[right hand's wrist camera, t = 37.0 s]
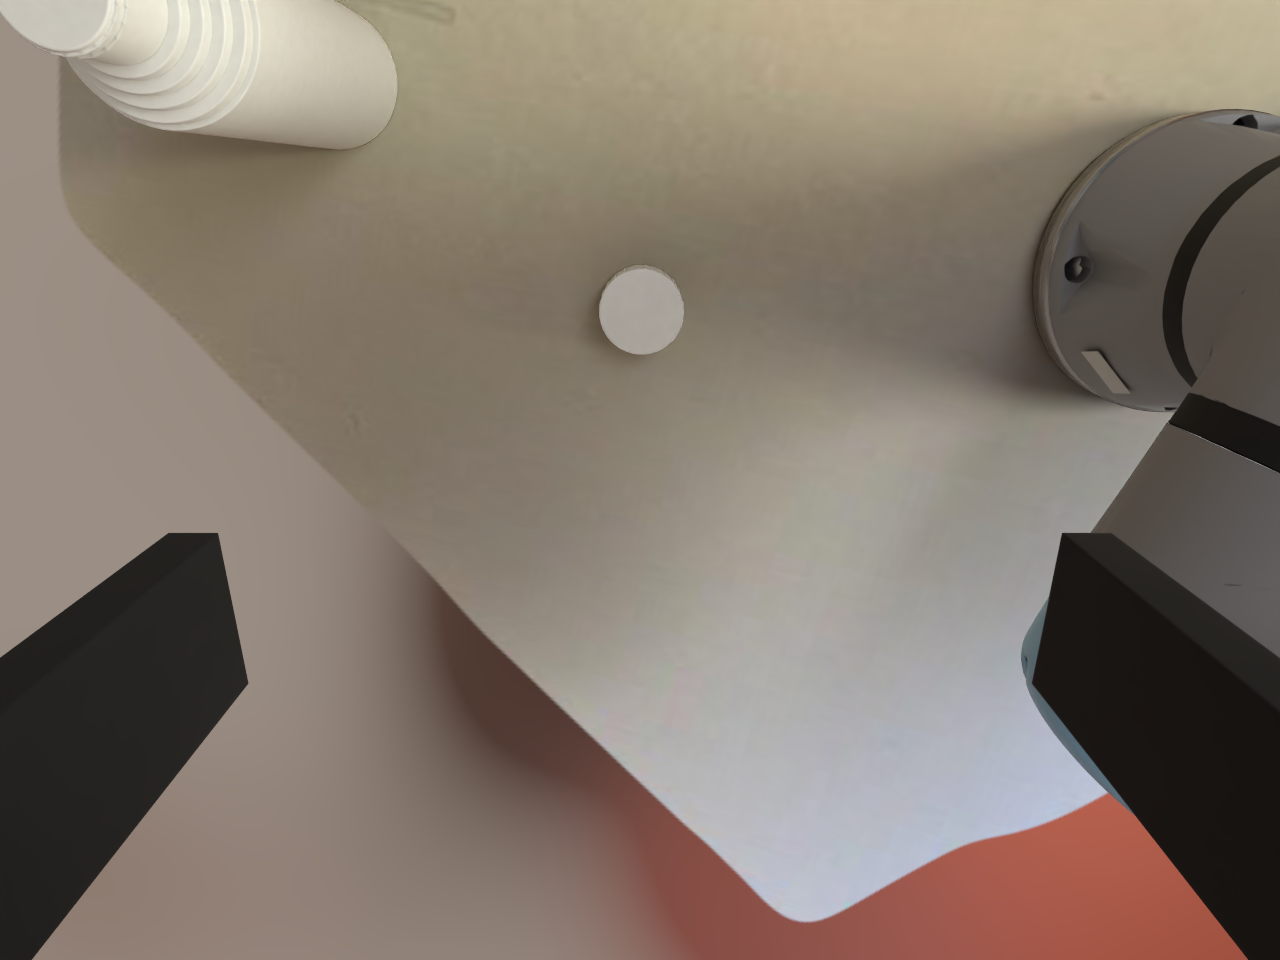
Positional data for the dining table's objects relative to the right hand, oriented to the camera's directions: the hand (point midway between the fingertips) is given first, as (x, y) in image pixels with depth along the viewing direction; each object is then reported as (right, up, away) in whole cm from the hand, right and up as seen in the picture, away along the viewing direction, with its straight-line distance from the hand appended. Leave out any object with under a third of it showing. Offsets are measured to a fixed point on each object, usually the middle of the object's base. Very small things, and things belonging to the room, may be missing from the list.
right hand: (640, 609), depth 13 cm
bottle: (-15, +22, +27) cm, 38 cm away
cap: (0, +11, +29) cm, 31 cm away
